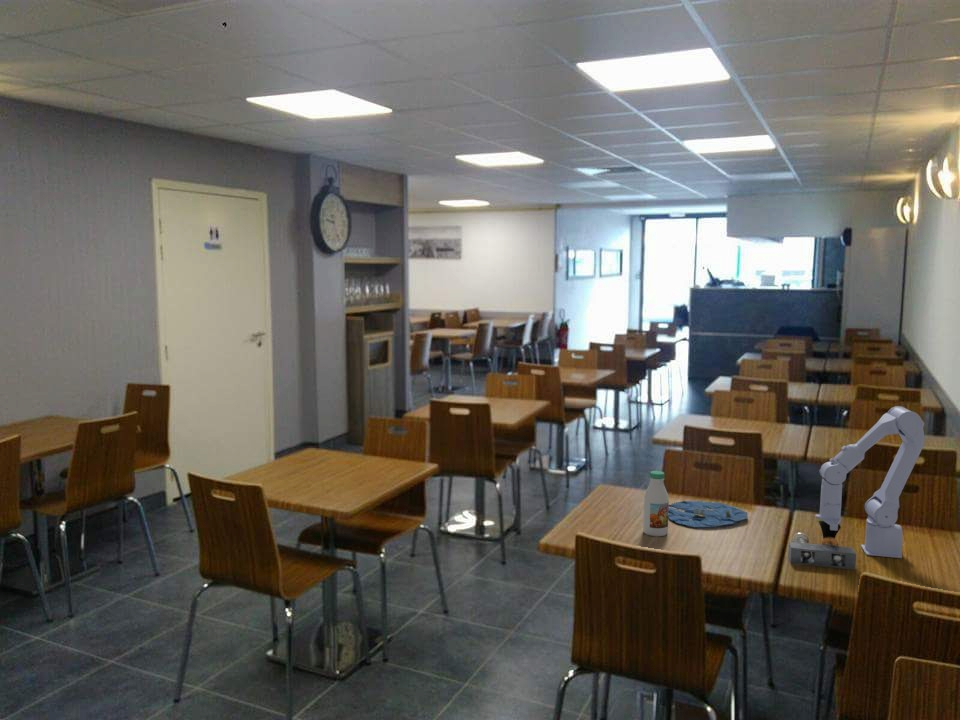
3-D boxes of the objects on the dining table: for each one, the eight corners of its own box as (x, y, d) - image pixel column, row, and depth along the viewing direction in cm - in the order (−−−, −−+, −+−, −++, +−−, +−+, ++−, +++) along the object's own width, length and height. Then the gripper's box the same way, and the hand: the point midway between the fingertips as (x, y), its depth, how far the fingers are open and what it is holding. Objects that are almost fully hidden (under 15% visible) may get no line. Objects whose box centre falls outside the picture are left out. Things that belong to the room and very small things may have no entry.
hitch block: (851, 563, 214) (852, 547, 213) (855, 569, 209) (856, 553, 209) (788, 557, 219) (788, 541, 218) (790, 563, 214) (791, 547, 213)
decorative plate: (647, 526, 250) (647, 511, 250) (671, 501, 276) (671, 487, 276) (739, 537, 236) (739, 522, 235) (755, 510, 262) (755, 496, 261)
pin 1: (792, 545, 227) (792, 531, 227) (807, 547, 226) (808, 533, 225) (798, 561, 215) (799, 547, 214) (814, 563, 213) (815, 548, 213)
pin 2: (821, 549, 224) (822, 535, 223) (837, 551, 223) (837, 536, 222) (829, 566, 211) (830, 551, 211) (846, 567, 210) (847, 552, 210)
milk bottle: (640, 534, 237) (641, 473, 235) (646, 527, 244) (648, 468, 242) (664, 538, 234) (666, 476, 231) (670, 531, 240) (672, 470, 238)
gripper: (812, 494, 231) (810, 536, 233) (820, 508, 217) (817, 553, 219) (837, 496, 229) (834, 538, 231) (846, 510, 216) (843, 555, 217)
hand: (828, 545), depth 225 cm, fingers closed
